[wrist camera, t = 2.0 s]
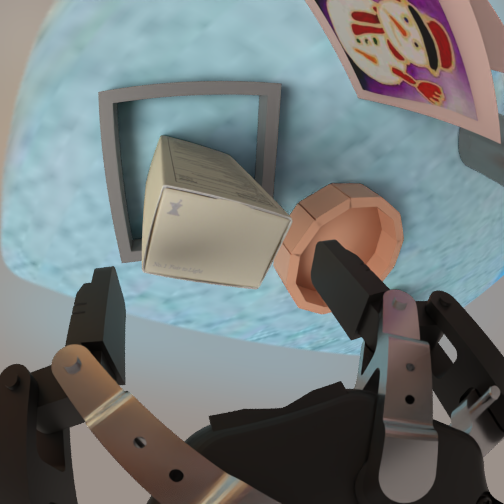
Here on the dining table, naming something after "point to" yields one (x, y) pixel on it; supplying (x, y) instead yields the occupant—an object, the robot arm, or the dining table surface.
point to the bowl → (338, 237)
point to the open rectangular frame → (110, 98)
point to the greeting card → (421, 55)
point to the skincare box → (208, 218)
